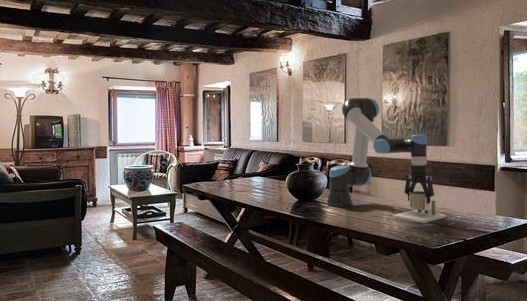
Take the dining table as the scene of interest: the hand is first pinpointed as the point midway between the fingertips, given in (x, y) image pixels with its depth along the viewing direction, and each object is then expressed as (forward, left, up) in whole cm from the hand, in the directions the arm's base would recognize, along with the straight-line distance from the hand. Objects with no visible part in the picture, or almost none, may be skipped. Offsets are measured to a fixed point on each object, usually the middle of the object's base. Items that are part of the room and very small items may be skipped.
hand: (418, 208), depth 222 cm
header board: (0, +1, -5) cm, 5 cm away
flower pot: (0, 0, 0) cm, 1 cm away
